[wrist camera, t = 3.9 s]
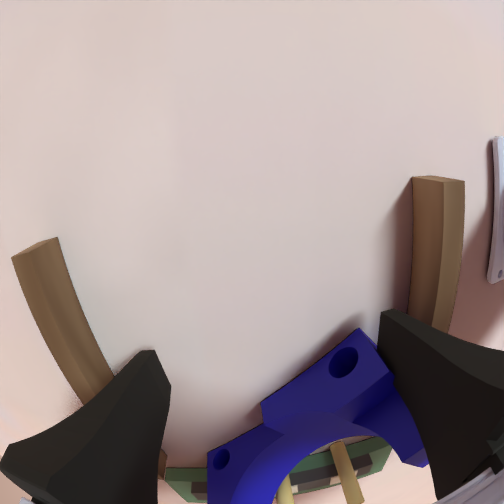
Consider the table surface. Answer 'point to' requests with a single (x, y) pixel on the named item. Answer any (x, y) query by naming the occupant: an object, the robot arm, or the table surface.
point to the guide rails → (93, 362)
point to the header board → (303, 473)
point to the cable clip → (315, 423)
